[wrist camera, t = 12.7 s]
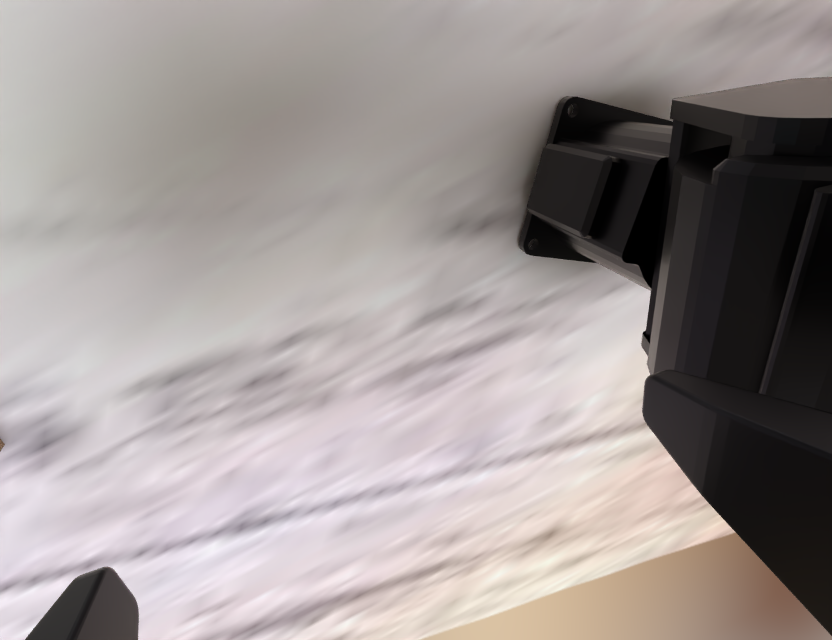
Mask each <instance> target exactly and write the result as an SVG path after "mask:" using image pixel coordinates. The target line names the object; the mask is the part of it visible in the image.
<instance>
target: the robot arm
mask: <svg viewBox="0 0 832 640" xmlns="http://www.w3.org/2000/svg"><path fill="white" fill-rule="evenodd" d="M571 104H572V106H573V112H572V114H571V115H570V116H569V115H568V108H569V106H570V105H571ZM670 119H673V122H672V121H668V120H664V119H660V118H657V117H653V116H649V115H645V114H641V113H637V112H634V111H630V110H626V109H622V108H618V107H614V106H611V105H607V104H603V103H599V102H595V101H591V100H588V99H584V98H580V97H565V98H563V99H562V100H561V101H560V102H559V104H558V107H557V110H556V113H555V117H554V120H553V124H552V127H551V131H550V134H549V138H548V141H547V145H546V147H545V148H544V149H543V152H542V155H541V159H540V162H539V166H538V169H537V173H536V176H535V180H534V183H533V187H532V190H531V194H530V198H529V201H528V205H527V208H528V212H527V215H526V219H525V222H524V226H523V229H522V233H521V236H520V240H519V247H520V249H521V250H522V251H523V252H524V253H526V254H528V255H532V256H541V257H550V258H558V259H567V260H576V261H584V262H593V263H599V264H601V265H603V266H605V267H606V268H608V269H610V270H612V271H614V272H616V273H618V274H620V275H622V276H624V277H626V278H627V279H629V280H631V281H633V282H635V283H637V284H639V285H641V286H643V287H645V288H646V289H648V290H650V291H651V296H650V304H649V312H648V319H647V327H646V331H644V332H643V335H642V343H641V346H642V348H643V349H644V351H645V352H646V354H647V355H648V361H647V365H648V369H649V372H650V376H648V377H647V379H646V380H645V386H644V397H643V408H642V412H643V417H644V420H645V422H646V423H647V425H648V426H649V428H650V429H651V430H652V432H653V433H654V434H655V436H656V437H657V438H658V440H659V441H660V442H661V443H662V445H663V446H664V447H665V449H666V450H667V451H668V453H669V454H670V455H671V456H672V458H673V459H674V460H675V462H676V463H677V464H678V466H679V467H680V468H681V470H682V471H683V472H684V473H685V475H686V476H687V477H688V479H689V480H690V481H691V483H692V484H693V485H694V486H695V487H696V489H697V490H698V491H699V492H700V494H701V495H702V496H703V497H704V498H705V499H706V500H707V502H708V503H709V504H710V505H711V506H712V507H713V508H714V509H715V510H716V512H717V513H718V514H719V515H720V516H721V517H722V518H723V519H724V520H725V521H726V522H727V523H728V525H729V526H730V527H731V528H732V529H733V530H734V531H735V532H736V533H737V534H738V535H739V536H740V537H741V539H742V540H743V541H744V542H745V543H746V544H747V545H748V546H749V547H750V548H751V549H752V550H753V551H754V552H755V554H756V555H757V556H758V557H759V558H760V559H761V560H762V561H763V562H764V563H765V564H766V565H767V567H768V568H769V569H770V570H771V571H772V572H773V573H774V574H775V575H776V576H777V577H778V578H779V580H780V581H781V582H782V583H783V584H784V585H785V586H786V587H787V588H788V589H789V590H790V591H791V592H792V594H793V595H794V596H795V597H796V598H797V599H798V600H799V601H800V602H801V603H802V604H803V605H804V607H805V608H806V609H807V610H808V611H809V612H810V613H811V614H812V615H813V616H814V617H815V618H816V619H817V621H818V622H819V623H820V624H821V625H822V626H823V627H824V628H825V629H826V630H827V631H828V632H829V634H830V635H831V636H832V77H823V78H798V79H789V80H783V81H777V82H771V83H765V84H759V85H753V86H747V87H741V88H735V89H729V90H723V91H717V92H711V93H705V94H699V95H693V96H687V97H681V98H675V99H672V106H671V114H670ZM532 239H534V243H533V245H532V246H531V247H528V244H529V242H530V241H531V240H532ZM138 623H139V611H138V605H137V602H136V599H135V597H134V596H133V594H132V593H131V592H130V590H129V589H128V588H127V586H126V585H125V584H124V582H123V581H122V580H121V578H120V577H119V576H118V574H117V573H116V572H115V571H114V570H113V569H112V568H110V567H102V568H100V569H97V570H94V571H91V572H88V573H85V574H82V575H80V576H78V577H77V578H75V579H74V580H73V581H72V582H71V583H70V585H69V586H68V587H67V588H66V590H65V591H64V592H63V593H62V595H61V596H60V597H59V598H58V599H57V601H56V602H55V603H54V604H53V606H52V607H51V608H50V609H49V611H48V612H47V613H46V614H45V615H44V617H43V618H42V619H41V620H40V622H39V623H38V624H37V625H36V627H35V628H34V629H33V630H32V632H31V633H30V634H29V635H28V636H27V638H26V639H25V640H138Z"/></svg>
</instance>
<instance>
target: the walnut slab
mask: <svg viewBox="0 0 832 640" xmlns="http://www.w3.org/2000/svg"><path fill="white" fill-rule="evenodd" d="M4 445H5V444H4V443H3V442H2V440H1V439H0V451H1V449H2V448H3V446H4Z"/></svg>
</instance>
